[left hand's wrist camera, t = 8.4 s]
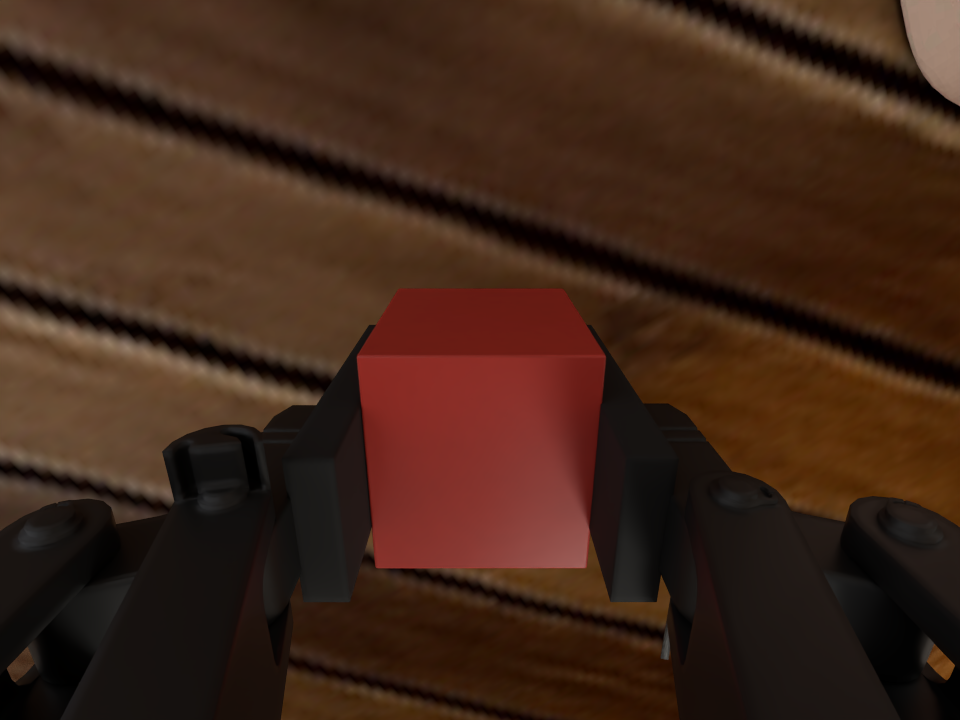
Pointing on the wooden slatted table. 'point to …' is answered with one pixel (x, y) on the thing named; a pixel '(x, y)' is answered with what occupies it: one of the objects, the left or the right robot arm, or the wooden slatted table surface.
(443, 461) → the block
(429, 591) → the wooden slatted table surface
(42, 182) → the wooden slatted table surface
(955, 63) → the anatomical model
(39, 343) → the wooden slatted table surface
